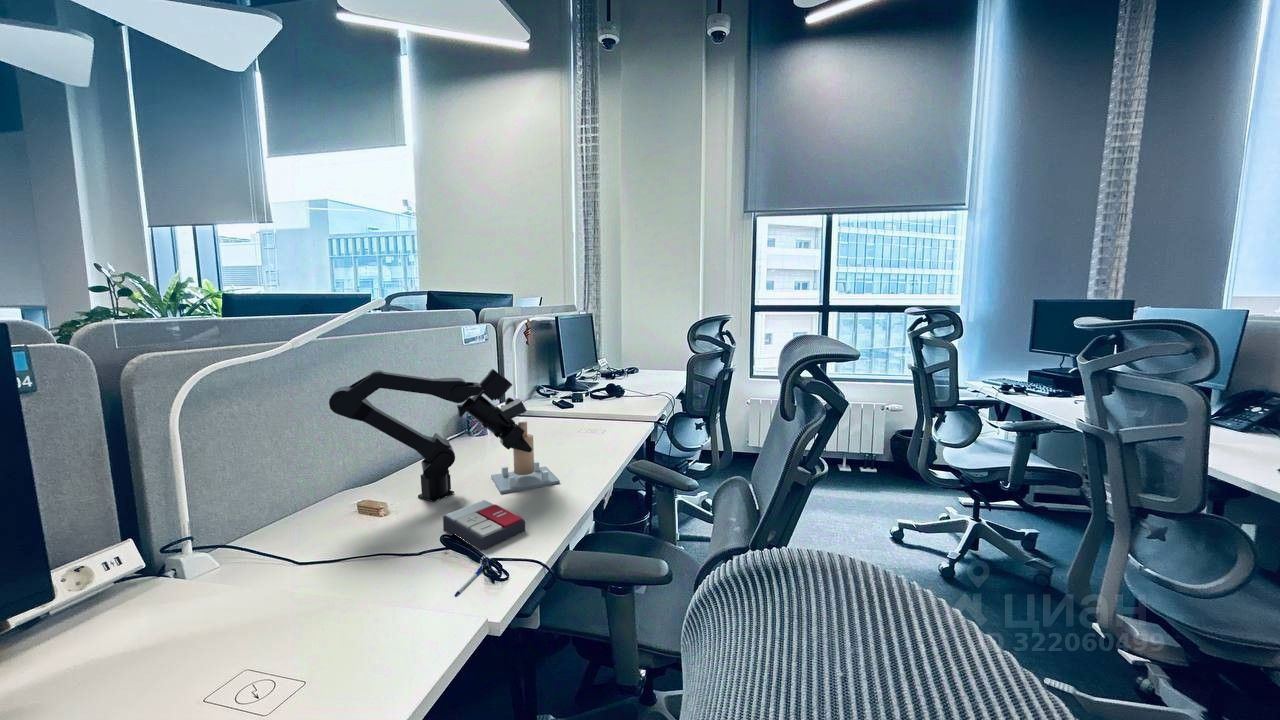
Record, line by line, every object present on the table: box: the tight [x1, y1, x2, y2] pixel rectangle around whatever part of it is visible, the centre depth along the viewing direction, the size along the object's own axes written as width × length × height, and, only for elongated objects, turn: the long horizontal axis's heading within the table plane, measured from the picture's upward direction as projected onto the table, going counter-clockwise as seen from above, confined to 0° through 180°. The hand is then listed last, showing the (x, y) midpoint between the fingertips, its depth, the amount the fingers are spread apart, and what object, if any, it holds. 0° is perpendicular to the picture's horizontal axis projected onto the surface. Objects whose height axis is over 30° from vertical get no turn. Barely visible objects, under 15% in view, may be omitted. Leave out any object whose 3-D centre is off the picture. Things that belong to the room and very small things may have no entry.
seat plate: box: [490, 460, 561, 495], centre depth 139 cm, size 16×13×3 cm
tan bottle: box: [512, 421, 535, 475], centre depth 138 cm, size 6×6×14 cm
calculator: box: [442, 499, 526, 551], centre depth 109 cm, size 11×4×15 cm
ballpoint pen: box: [454, 565, 483, 597], centre depth 90 cm, size 10×1×1 cm, turn 169°
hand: (528, 448), depth 138 cm, fingers closed on tan bottle, 5 cm apart
